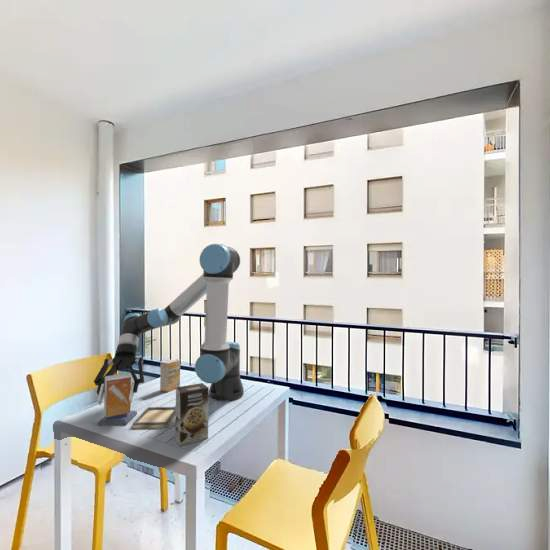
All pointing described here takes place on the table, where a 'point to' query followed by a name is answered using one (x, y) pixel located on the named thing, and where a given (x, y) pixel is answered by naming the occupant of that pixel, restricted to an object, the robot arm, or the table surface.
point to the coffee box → (191, 413)
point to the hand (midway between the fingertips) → (114, 402)
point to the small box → (117, 394)
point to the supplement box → (169, 375)
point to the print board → (155, 417)
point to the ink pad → (118, 419)
